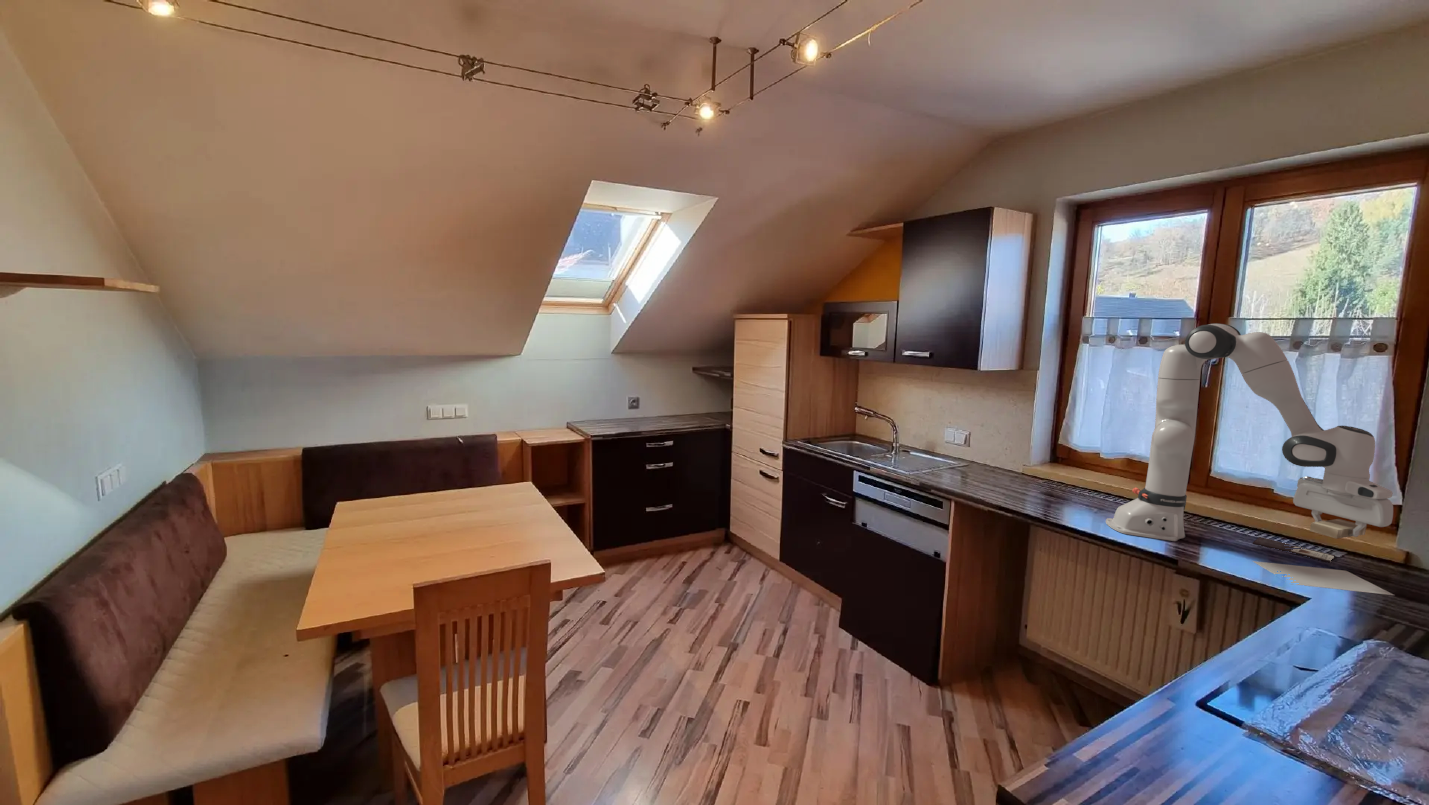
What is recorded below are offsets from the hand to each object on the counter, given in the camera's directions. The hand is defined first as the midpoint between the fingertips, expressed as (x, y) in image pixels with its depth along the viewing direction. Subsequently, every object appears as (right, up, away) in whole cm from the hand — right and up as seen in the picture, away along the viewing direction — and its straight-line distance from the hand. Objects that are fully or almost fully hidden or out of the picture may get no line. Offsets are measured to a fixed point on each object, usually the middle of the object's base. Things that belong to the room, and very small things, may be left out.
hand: (1335, 531), depth 170 cm
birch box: (+7, +1, +2) cm, 7 cm away
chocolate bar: (+10, -12, +23) cm, 27 cm away
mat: (-4, -14, +1) cm, 14 cm away
